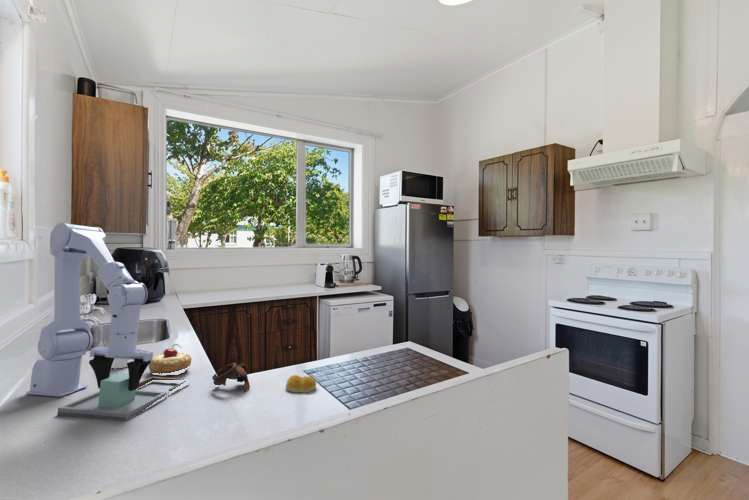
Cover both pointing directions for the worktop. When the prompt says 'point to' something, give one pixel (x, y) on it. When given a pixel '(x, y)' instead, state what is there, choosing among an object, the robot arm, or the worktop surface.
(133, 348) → the robot arm
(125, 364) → the salt shaker
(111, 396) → the teal block
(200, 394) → the worktop surface
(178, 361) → the pastry
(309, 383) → the bread roll
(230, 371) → the brown piece
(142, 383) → the dark bent strip
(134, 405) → the grey tray
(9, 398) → the worktop surface
